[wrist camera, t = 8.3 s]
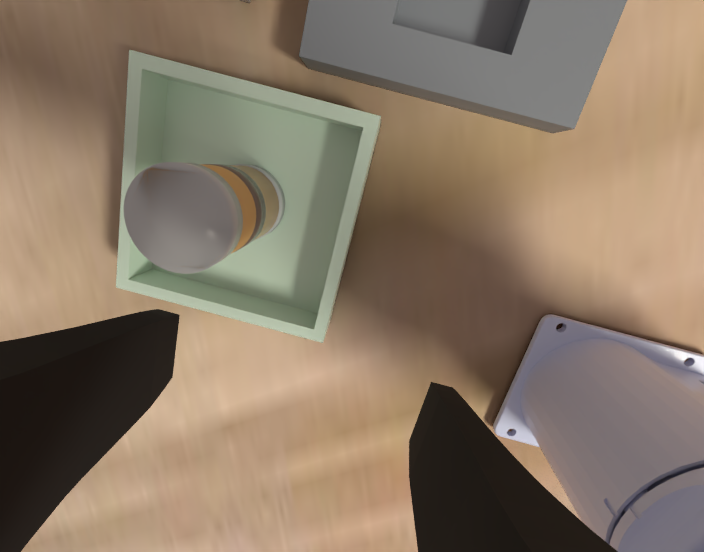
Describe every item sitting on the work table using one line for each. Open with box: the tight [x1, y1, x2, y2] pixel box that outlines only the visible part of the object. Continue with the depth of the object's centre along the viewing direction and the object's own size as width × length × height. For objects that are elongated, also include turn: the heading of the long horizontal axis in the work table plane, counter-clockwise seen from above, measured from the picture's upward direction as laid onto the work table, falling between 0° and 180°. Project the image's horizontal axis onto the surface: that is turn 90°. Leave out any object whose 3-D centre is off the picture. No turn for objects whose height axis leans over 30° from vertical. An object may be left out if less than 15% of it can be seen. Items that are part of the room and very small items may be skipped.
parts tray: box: [116, 50, 381, 343], centre depth 18 cm, size 11×11×2 cm
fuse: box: [124, 162, 285, 274], centre depth 15 cm, size 4×4×7 cm
